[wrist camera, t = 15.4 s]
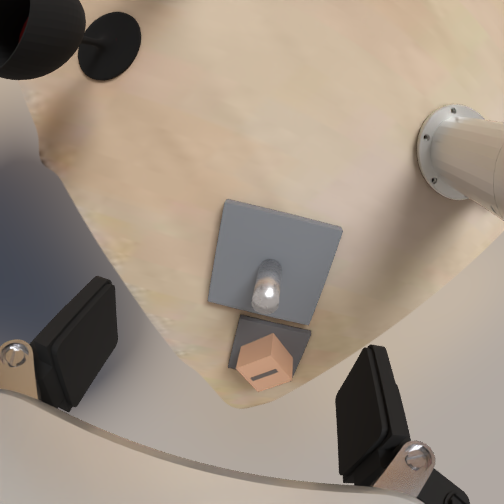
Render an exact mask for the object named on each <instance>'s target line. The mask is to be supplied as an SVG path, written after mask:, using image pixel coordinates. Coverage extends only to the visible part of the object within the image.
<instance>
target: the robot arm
mask: <svg viewBox="0 0 504 504" xmlns="http://www.w3.org/2000/svg"><path fill="white" fill-rule="evenodd" d="M451 110H452V112H451ZM424 135H425V136H426V138H425V139H424ZM417 158H418V163H419V167H420V170H421V172H422V175H423V176H424V178H425V180H426V181H427V183H428V184H429V185H430V186H431V188H433V189H434V190H435V191H436V192H438V193H439V194H441V195H442V196H444V197H446V198H449V199H453V200H466V199H469V198H470V199H471V200H473V201H474V202H476V203H478V204H479V205H481V206H482V207H484V208H485V209H487V210H488V211H490V212H491V213H493V214H494V215H496V216H497V217H499V218H500V219H502V220H503V221H504V122H497V121H491V120H485V119H484V118H483V116H482V115H481V114H480V113H478V112H477V111H475V110H474V109H472V108H470V107H468V106H465V105H459V104H450V105H445V106H442V107H440V108H438V109H436V110H435V111H433V112H432V113H431V114H430V115H429V116H428V117H427V119H426V120H425V121H424V123H423V125H422V127H421V129H420V133H419V136H418V141H417ZM432 178H433V180H432V181H431V179H432ZM117 341H118V333H117V318H116V300H115V287H114V285H112V282H111V281H110V280H108V279H105V278H102V277H99V276H96V277H95V278H93V279H92V280H91V281H90V282H89V283H88V284H87V285H86V286H85V287H84V288H83V289H82V290H81V291H80V292H79V293H78V294H77V295H76V296H75V297H74V298H73V299H72V300H71V301H70V302H69V303H68V304H67V305H66V306H65V307H64V308H63V309H62V310H61V311H60V312H59V313H58V314H57V315H56V316H55V317H54V318H53V319H52V320H51V321H50V322H49V323H48V325H47V326H46V327H45V328H44V329H43V330H42V331H41V332H40V333H39V334H38V335H37V337H36V338H35V339H34V340H33V341H32V342H31V343H30V344H28V343H27V342H25V341H22V340H10V341H8V342H6V343H4V344H3V345H2V346H0V504H470V502H469V499H468V496H467V495H466V494H465V493H464V491H462V490H461V489H460V488H458V487H457V486H456V485H454V484H453V483H452V482H451V481H449V480H448V479H447V478H446V477H444V476H443V475H442V474H440V473H439V472H438V471H436V470H435V469H434V466H435V455H434V453H433V451H432V450H431V448H430V447H429V446H428V445H427V444H425V443H423V442H421V441H411V439H410V434H409V430H408V425H407V421H406V417H405V413H404V409H403V405H402V401H401V397H400V393H399V389H398V386H397V385H396V384H395V380H394V376H393V372H392V369H391V365H390V362H389V358H388V354H387V351H386V348H385V347H382V346H376V345H369V346H368V348H363V350H362V352H361V353H360V355H359V357H358V359H357V361H356V362H355V364H354V366H353V368H352V369H351V371H350V373H349V375H348V376H347V378H346V380H345V381H344V383H343V385H342V386H341V388H340V390H339V391H338V393H337V395H336V401H335V403H336V418H337V435H338V458H339V474H340V475H343V483H354V485H338V484H325V483H314V482H304V481H295V480H287V479H280V478H273V477H266V476H259V475H255V474H249V473H244V472H239V471H234V470H229V469H225V468H220V467H216V466H212V465H208V464H204V463H200V462H196V461H192V460H189V459H185V458H181V457H178V456H175V455H172V454H168V453H165V452H162V451H159V450H156V449H153V448H150V447H147V446H144V445H141V444H138V443H136V442H133V441H130V440H128V439H125V438H122V437H120V436H117V435H115V434H112V433H110V432H107V431H105V430H103V429H100V428H98V427H96V426H93V425H91V424H89V423H86V422H84V421H82V420H80V419H78V418H75V417H73V416H71V415H69V414H67V413H65V412H63V411H61V410H59V409H58V407H59V408H61V409H63V410H65V411H67V412H69V411H70V410H71V408H72V407H76V406H77V405H78V404H79V402H80V401H81V399H82V398H83V396H84V394H85V393H86V391H87V389H88V388H89V386H90V385H91V383H92V382H93V380H94V379H95V377H96V376H97V374H98V372H99V371H100V369H101V368H102V366H103V365H104V363H105V362H106V360H107V359H108V357H109V356H110V354H111V353H112V351H113V349H114V348H115V347H116V344H117Z"/></svg>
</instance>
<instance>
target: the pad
mask: <svg viewBox="0 0 504 504" xmlns="http://www.w3.org/2000/svg"><path fill="white" fill-rule="evenodd" d="M272 333H274V334H275V336H276V337H277V338H278V339H279V341H280V342H281V343H282V344H283V346H284V347H285V348H286V350H287V351H288V352H289V353H290V355H291V356H292V357H293V370H292V378H293V375H294V373H295V371H296V369H297V366H298V364H299V362H300V360H301V357H302V355H303V353H304V350H305V348H306V346H307V343H308V341H309V338H310V336H311V331H310V330H306V329H301V328H296V327H292V326H287V325H283V324H278V323H274V322H270V321H265V320H261V319H257V318H253V317H249V316H245V315H240V318H239V322H238V327H237V331H236V335H235V339H234V344H233V348H232V352H231V356H230V360H229V365H228V368H232V369H236V366H237V361H238V357H239V353H240V349H241V346H244V345H246V344H248V343H251V342H253V341H256V340H258V339H260V338H263V337H265V336H267V335H270V334H272ZM236 370H237V369H236Z"/></svg>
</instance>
